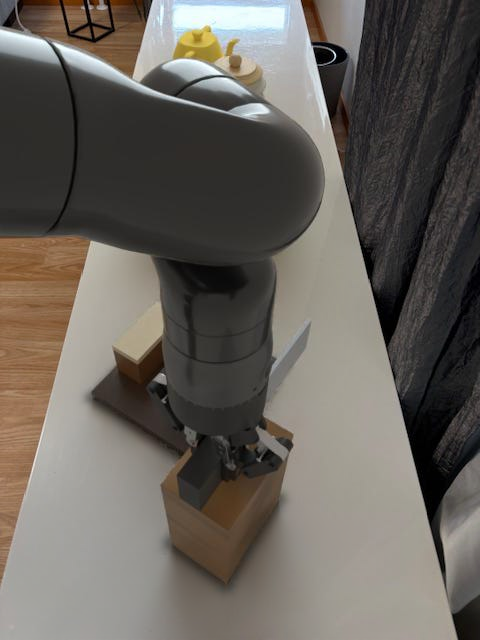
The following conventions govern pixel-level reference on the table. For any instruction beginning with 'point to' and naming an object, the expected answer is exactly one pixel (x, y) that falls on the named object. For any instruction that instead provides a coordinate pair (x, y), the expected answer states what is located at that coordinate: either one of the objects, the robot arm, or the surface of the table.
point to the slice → (141, 346)
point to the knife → (204, 463)
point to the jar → (244, 71)
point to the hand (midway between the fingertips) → (217, 464)
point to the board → (139, 406)
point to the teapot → (201, 45)
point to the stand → (223, 514)
